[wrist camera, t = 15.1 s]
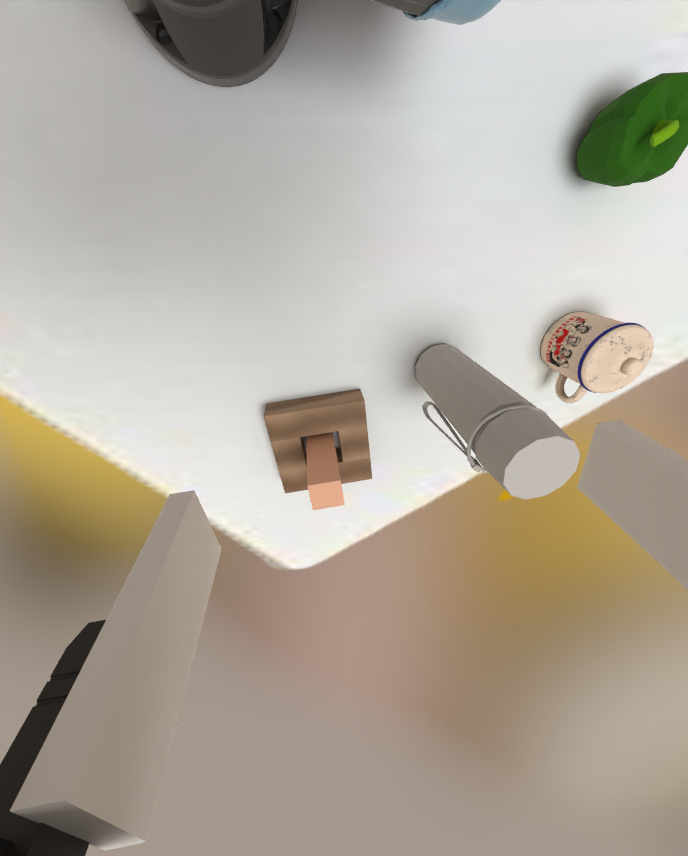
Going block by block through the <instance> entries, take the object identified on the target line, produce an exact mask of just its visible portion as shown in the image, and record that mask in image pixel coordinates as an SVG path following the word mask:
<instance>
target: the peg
mask: <svg viewBox="0 0 688 856" xmlns="http://www.w3.org/2000/svg"><path fill="white" fill-rule="evenodd" d="M306 450H307V486H308V490H309V495H310V499H311V503H312V508H313V510H317V509H323V508H329V507H334V506H340V505H344V498H343V492H342V486H341V480H340V474H339V467H338V461H337V455H336V449H335V443H334V437H333V432H330V433H323V434H317V435H311V436H306Z"/></svg>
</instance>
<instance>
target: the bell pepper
mask: <svg viewBox="0 0 688 856" xmlns="http://www.w3.org/2000/svg"><path fill="white" fill-rule="evenodd" d="M687 145H688V72H681V73H663V74H660V75H658V76H656V77H654V78H652V79H650V80H647V81H645V82H643V83H641V84H640V85H638V86H636V87H634V88H632V89H630V90H628V91H627V92H625V93H624V94H623V95H621V96H620V97H619V98H617V99H616V100H615V101H613V102H612V103H611V104H609V105H608V106H607V107H606V108H605V109H603V110H602V111H601V112H600V113H599V115H598V116H597V117H596V119H595V120H594V122H593V123H592V124H591V126H590V128H589V130H588V135H587V136H586V137H584V139H583V140H582V143H581V145H580V147H579V149H578V152H577V169H578V171H579V173H580V174H581V176H582V177H583V179H585V180H589V181H592V182H596V183H600V184H604V185H609V186H614V187H617V186H625V185H630V184H632V183H638V182H646V181H649V180H651V179H654V178H656V177H658V176H661V175H663V174H664V173H666V172H667V171H669V170H670V169H672V168H673V166H674V165H675V163H676V162H677V160H678V159H679V157H680V156H681V154H682V152H683V151H684V149H685V148H686V147H687Z"/></svg>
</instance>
